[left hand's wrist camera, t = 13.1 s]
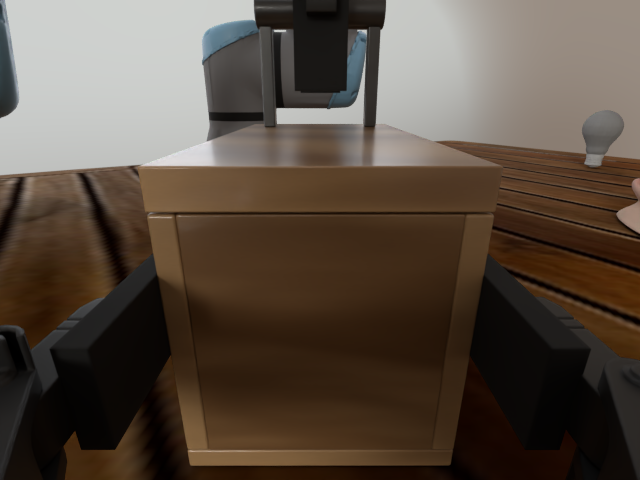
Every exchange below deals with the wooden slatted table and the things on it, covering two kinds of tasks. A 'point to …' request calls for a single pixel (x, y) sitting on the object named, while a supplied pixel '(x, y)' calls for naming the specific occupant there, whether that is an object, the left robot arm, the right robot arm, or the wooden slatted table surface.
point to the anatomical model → (632, 210)
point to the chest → (320, 332)
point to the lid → (320, 154)
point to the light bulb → (600, 135)
